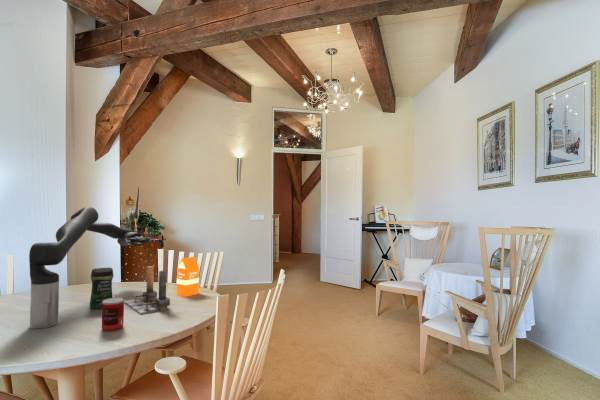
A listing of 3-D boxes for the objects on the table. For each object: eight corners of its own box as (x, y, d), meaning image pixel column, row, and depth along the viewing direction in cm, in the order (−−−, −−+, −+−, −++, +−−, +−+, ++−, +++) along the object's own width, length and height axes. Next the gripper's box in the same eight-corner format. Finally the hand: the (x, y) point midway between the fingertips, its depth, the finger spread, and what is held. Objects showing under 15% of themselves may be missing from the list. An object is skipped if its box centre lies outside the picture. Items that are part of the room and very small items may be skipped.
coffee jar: (90, 310, 159) (91, 270, 160) (88, 306, 165) (89, 267, 166) (114, 307, 165) (115, 268, 166) (111, 303, 171) (112, 265, 172)
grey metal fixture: (169, 308, 162) (170, 271, 163) (140, 314, 153) (141, 274, 154) (151, 298, 181) (151, 264, 181) (124, 302, 172) (124, 267, 172)
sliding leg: (156, 299, 175) (157, 266, 175) (135, 302, 168) (135, 268, 168) (153, 297, 179) (153, 265, 179) (132, 300, 172) (132, 267, 172)
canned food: (118, 323, 142) (118, 296, 142) (127, 327, 137) (127, 300, 137) (98, 328, 136) (98, 300, 136) (106, 333, 131) (106, 304, 131)
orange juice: (198, 293, 192) (199, 257, 192) (185, 296, 185) (186, 259, 185) (189, 291, 196) (190, 256, 197) (176, 294, 189) (176, 257, 189)
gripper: (121, 232, 191) (131, 234, 178) (146, 231, 199) (157, 233, 187) (121, 246, 190) (131, 249, 178) (146, 244, 199) (157, 247, 186)
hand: (144, 241), depth 182 cm, fingers closed
